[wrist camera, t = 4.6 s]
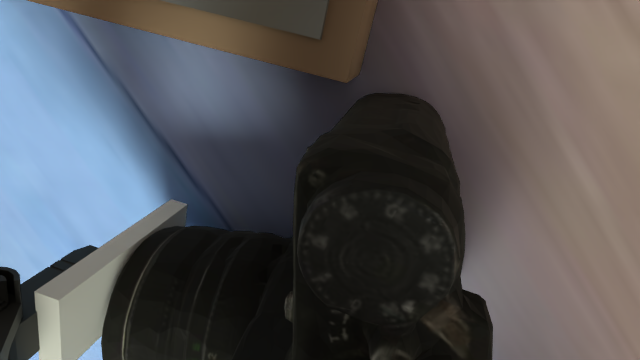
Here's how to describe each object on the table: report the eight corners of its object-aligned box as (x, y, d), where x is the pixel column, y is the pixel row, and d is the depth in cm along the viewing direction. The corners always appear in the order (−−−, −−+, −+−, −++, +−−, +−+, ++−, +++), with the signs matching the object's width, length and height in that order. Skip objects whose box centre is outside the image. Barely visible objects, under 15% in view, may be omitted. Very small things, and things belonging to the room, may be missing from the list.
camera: (189, 70, 15) (-138, 125, 6) (477, 96, 14) (608, 229, 4) (204, 351, 20) (34, 611, 11) (417, 400, 18) (420, 760, 9)
